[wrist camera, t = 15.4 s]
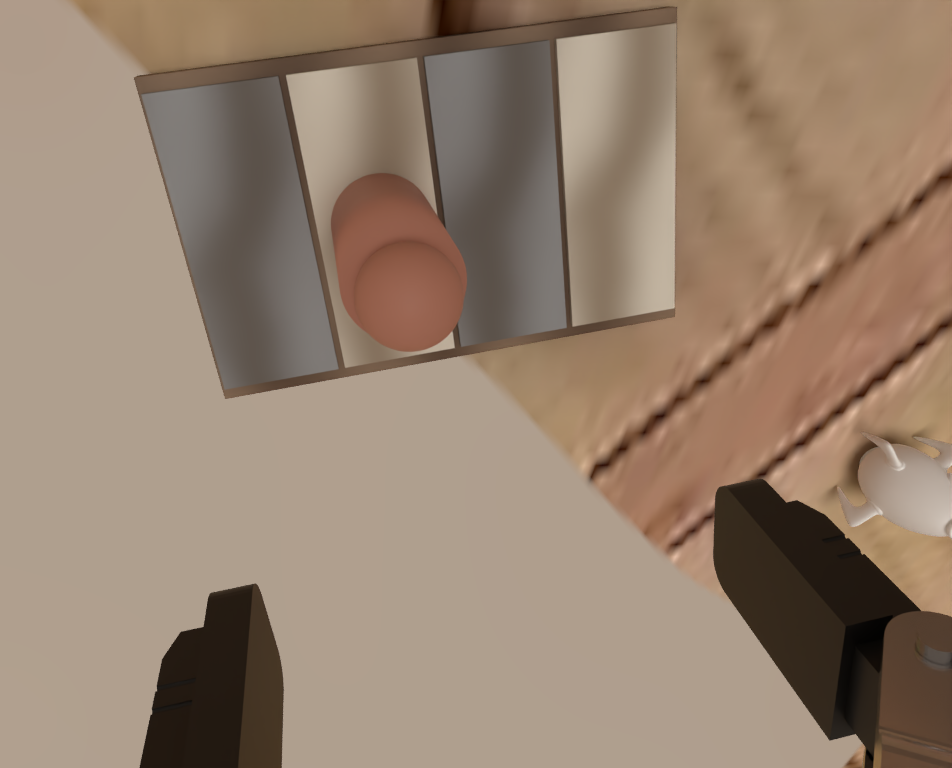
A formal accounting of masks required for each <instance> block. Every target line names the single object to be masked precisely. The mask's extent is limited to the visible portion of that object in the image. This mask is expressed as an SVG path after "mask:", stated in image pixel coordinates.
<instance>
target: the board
mask: <svg viewBox="0 0 952 768" xmlns="http://www.w3.org/2000/svg"><path fill="white" fill-rule="evenodd" d="M676 74H677V7H663V8H656V9H648V10H640V11H633V12H625V13H617V14H609V15H602V16H594V17H586V18H579V19H571V20H563V21H556V22H548V23H540V24H533V25H525V26H517V27H509V28H502V29H494V30H486V31H479V32H471V33H463V34H456V35H448V36H440V37H433V38H425V39H417V40H410V41H402V42H394V43H386V44H379V45H371V46H363V47H356V48H348V49H340V50H333V51H325V52H317V53H310V54H302V55H294V56H286V57H279V58H271V59H263V60H256V61H248V62H240V63H233V64H225V65H217V66H210V67H202V68H194V69H186V70H179V71H171V72H163V73H156V74H148V75H140V76H136V77H134V80H135V83H136V87H137V91H138V94H139V97H140V101H141V105H142V108H143V112H144V115H145V118H146V122H147V126H148V129H149V133H150V136H151V140H152V143H153V147H154V150H155V154H156V157H157V161H158V164H159V168H160V171H161V175H162V178H163V182H164V185H165V189H166V192H167V196H168V199H169V203H170V207H171V210H172V214H173V217H174V221H175V224H176V227H177V231H178V235H179V237H180V242H181V245H182V248H183V252H184V255H185V259H186V263H187V266H188V270H189V273H190V277H191V280H192V284H193V287H194V291H195V294H196V298H197V301H198V305H199V308H200V312H201V315H202V319H203V323H204V326H205V330H206V333H207V337H208V340H209V344H210V347H211V351H212V354H213V357H214V361H215V365H216V368H217V372H218V375H219V378H220V382H221V386H222V389H223V393H224V396H225V399H227V398H233V397H239V396H244V395H250V394H255V393H260V392H266V391H271V390H277V389H282V388H288V387H293V386H299V385H303V384H310V383H315V382H320V381H326V380H332V379H337V378H342V377H348V376H353V375H359V374H364V373H370V372H375V371H381V370H386V369H392V368H397V367H403V366H408V365H413V364H419V363H424V362H430V361H436V360H441V359H447V358H452V357H457V356H463V355H469V354H474V353H480V352H485V351H490V350H496V349H501V348H507V347H512V346H518V345H523V344H529V343H534V342H540V341H545V340H551V339H556V338H562V337H567V336H573V335H578V334H584V333H589V332H594V331H600V330H605V329H611V328H616V327H622V326H627V325H633V324H638V323H644V322H649V321H655V320H660V319H666V318H671V317H675V221H676ZM375 173H389V174H394V175H398V176H401V177H403V178H405V179H407V180H409V181H410V182H412V183H413V184H414V185H415V186H417V187H418V188H419V189H420V190H421V192H422V193H423V194H424V196H425V197H426V199H427V200H428V202H429V203H430V205H431V207H432V208H433V210H434V211H435V213H436V215H437V216H438V218H439V219H440V221H441V222H442V224H443V226H444V227H445V229H446V230H447V232H448V234H449V235H450V237H451V238H452V240H453V241H454V243H455V245H456V246H457V248H458V249H459V251H460V253H461V255H462V257H463V260H464V263H465V267H466V272H467V287H466V293H465V297H464V303H463V309H462V313H461V316H460V319H459V321H458V323H457V324H456V326H455V328H454V329H453V331H452V332H451V333H450V334H449V335H448V336H447V337H446V338H445V339H444V340H443V341H441V342H440V343H438V344H437V345H435V346H433V347H431V348H428V349H425V350H421V351H415V352H403V351H397V350H393V349H391V348H388V347H386V346H384V345H382V344H380V343H379V342H377V341H376V340H374V339H373V338H372V337H371V336H370V335H369V334H368V333H367V332H365V331H364V330H362V329H361V328H360V327H359V326H358V325H357V324H356V323H355V322H354V321H353V320H352V319H351V317H350V316H349V314H348V313H347V311H346V309H345V307H344V305H343V302H342V299H341V295H340V288H339V281H338V274H337V267H336V259H335V252H334V245H333V238H332V231H331V216H332V211H333V208H334V205H335V203H336V200H337V199H338V197H339V195H340V194H341V193H342V191H343V190H344V189H345V188H346V187H347V186H348V185H349V184H351V183H352V182H354V181H355V180H357V179H359V178H361V177H363V176H366V175H370V174H375Z"/></svg>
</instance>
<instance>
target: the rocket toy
mask: <svg viewBox="0 0 952 768" xmlns="http://www.w3.org/2000/svg"><path fill="white" fill-rule="evenodd" d="M861 434H862V435H864V436H865V437H866V438H868V439H869V440H871V441H872V442H874V443H875V444H876V445H878V446H879V447H875V448H872V449H870V450H869V451H867V452H866V453H865V454H864V455H863V456H862V458H861V459H860V463H859V469H858V481H859V485H860V487H861V490H862V492H863V494H864V495H865V497H866V498H867V502H866V503H865V504H864V505H862V506H860V507H855V506H853V505H852V504H851V503H850V502H849V500H848V499H847V497H846V496H845V494H844V493H843V491H842V490H841V488H840V487H839V486H837V491H838V496H839V499H840V503H841V506H842V509H843V512H844V515H845V518H846V520H847V522H848V524H849V525H850V526H851V527H855V526H858V525H860V524H862V523H863V522H865V521H866V520H868V519H870V518H871V517H873V516H875V515H877V514H879V515H882V516H883V517H885V518H886V519H888V520H889V521H891V522H892V523H894V524H896V525H898V526H900V527H903V528H905V529H907V530H910V531H913V532H916V533H920V534H925V535H930V536H949V537H950V538H951V539H952V474H951V473H947V469H948V468H949V467H950V466H951V465H952V444H949V443H945V442H941V441H937V440H932V439H928V438H923V437H913V438H914V439H916V440H918V441H920V442H923V443H925V444H927V445H929V446H932V447H934V448H935V449H937V450H938V451H939V452H940V455H939V456H938V457H936V458H934V459H933V458H931V457H930V456H928V455H927V454H925V453H923V452H921V451H919V450H917V449H915V448H913V447H910V446H906V445H902V444H890V443H889V442H887V441H886V440H884V439H882V438H879V437H877V436H874V435H872V434H869V433H865V432H861Z"/></svg>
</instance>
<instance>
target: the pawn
mask: <svg viewBox="0 0 952 768" xmlns="http://www.w3.org/2000/svg"><path fill="white" fill-rule="evenodd" d="M331 231H332V238H333V245H334V252H335V259H336V267H337V274H338V281H339V288H340V295H341V299H342V302H343V305H344V307H345V309H346V311H347V313H348V314H349V316H350V317H351V319H352V320H353V321H354V322H355V323H356V324H357V325H358V326H359V327H360V328H361V329H362V330H364V331H365V332H367V333H368V334H369V335H370V336H371V337H372V338H373V339H374V340H376V341H377V342H379V343H380V344H382V345H384V346H386V347H388V348H391V349H393V350H397V351H403V352H415V351H421V350H425V349H428V348H431V347H433V346H435V345H437V344H438V343H440V342H441V341H443V340H444V339H445V338H446V337H447V336H448V335H449V334H450V333H451V332H452V331H453V329H454V328H455V326H456V324H457V323H458V321H459V319H460V316H461V313H462V309H463V303H464V297H465V293H466V287H467V272H466V267H465V263H464V260H463V257H462V255H461V253H460V251H459V249H458V248H457V246H456V245H455V243H454V241H453V240H452V238H451V237H450V235H449V234H448V232H447V230H446V229H445V227H444V226H443V224H442V222H441V221H440V219H439V218H438V216H437V215H436V213H435V211H434V210H433V208H432V207H431V205H430V203H429V202H428V200H427V199H426V197H425V196H424V194H423V193H422V192H421V190H420V189H419V188H418V187H417V186H415V185H414V184H413V183H412V182H410V181H409V180H407V179H405V178H403V177H401V176H398V175H394V174H389V173H375V174H370V175H366V176H363V177H361V178H359V179H357V180H355V181H354V182H352V183H351V184H349V185H348V186H347V187H346V188H345V189H344V190H343V191H342V193H341V194H340V195H339V197H338V199H337V200H336V203H335V205H334V208H333V211H332V216H331Z"/></svg>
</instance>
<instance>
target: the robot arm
mask: <svg viewBox="0 0 952 768" xmlns="http://www.w3.org/2000/svg"><path fill="white" fill-rule="evenodd" d="M713 559H714V566H715V570H716V574H717V577H718V580H719V582H720V584H721V586H722V588H723V590H724V592H725V593H726V595H727V596H728V597H729V599H730V600H731V602H732V603H733V604H734V606H735V607H736V609H737V610H738V612H739V613H740V614H741V616H742V617H743V619H744V620H745V621H746V623H747V624H748V626H749V627H750V628H751V630H752V631H753V633H754V634H755V636H756V637H757V638H758V640H759V641H760V643H761V644H762V645H763V647H764V648H765V650H766V651H767V653H768V654H769V655H770V657H771V658H772V660H773V661H774V662H775V664H776V665H777V667H778V668H779V670H780V671H781V672H782V674H783V675H784V677H785V678H786V679H787V681H788V682H789V684H790V685H791V687H792V688H793V689H794V691H795V692H796V694H797V695H798V696H799V698H800V699H801V701H802V702H803V704H804V705H805V706H806V708H807V709H808V711H809V712H810V713H811V715H812V716H813V717H814V719H815V720H816V722H817V723H818V725H819V726H820V728H821V729H822V730H823V732H824V733H825V735H826V736H827V737H828V739H829V740H833V739H838V738H842V737H845V736H849V735H853V734H856V735H857V736H858V738H859V739H860V740H861V742H862V743H863V744H864V746H865V750H864V756H863V764H862V768H952V617H950V616H947V615H944V614H940V613H935V612H928V611H921V610H920V609H919V608H918V607H917V606H916V605H915V604H914V603H913V602H912V601H911V600H910V599H909V598H908V597H907V596H906V595H905V594H904V593H903V592H902V591H901V590H900V589H899V588H898V587H897V586H896V585H895V584H894V583H893V582H892V581H891V580H890V579H889V578H888V577H887V576H886V575H885V574H884V573H883V572H882V571H881V570H880V569H879V568H878V567H877V566H876V565H875V564H874V563H873V562H872V561H871V560H870V559H869V558H868V557H867V556H866V555H865V554H863V555H862V554H861V551H860V549H859V548H858V547H857V546H856V545H855V544H854V543H853V542H852V541H851V540H850V539H849V538H847V539H846V538H845V534H844V533H843V532H842V531H841V530H840V529H839V528H838V527H837V526H836V525H835V524H834V523H833V522H832V521H831V520H830V519H829V518H828V517H827V516H826V515H824V514H822V513H820V512H819V511H817V510H815V509H813V508H811V507H809V506H807V505H805V504H803V503H801V502H799V501H798V500H796V501H792V502H787V503H786V502H785V501H784V500H783V499H782V498H781V497H780V495H779V494H778V493H777V492H776V491H775V490H774V489H773V488H772V487H771V486H770V485H769V484H768V483H767V482H766V481H765V480H763V479H755V480H750V481H746V482H741V483H736V484H731V485H727V486H722V487H719V488H718V490H717V492H716V497H715V521H714V549H713ZM283 688H284V687H283V674H282V667H281V660H280V656H279V652H278V648H277V645H276V641H275V638H274V635H273V631H272V628H271V625H270V621H269V618H268V615H267V611H266V608H265V605H264V601H263V598H262V595H261V592H260V589H259V587H258V585H257V584H251V585H246V586H241V587H237V588H232V589H228V590H223V591H218V592H213V593H210V595H209V597H208V602H207V609H206V615H205V622H204V627H202V628H197V629H192V630H188V631H183V632H181V633H180V634H179V636H178V637H177V638H176V640H175V641H174V643H173V644H172V645H171V647H170V648H169V650H168V651H167V653H166V654H165V656H164V658H163V659H162V663H161V668H160V673H159V677H158V682H157V692H155V697H154V701H153V707H152V715H151V716H150V720H149V725H148V730H147V735H146V739H145V745H144V749H143V754H142V759H141V764H140V768H282V766H281V765H282V731H283V730H282V728H283V691H284V689H283Z"/></svg>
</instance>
